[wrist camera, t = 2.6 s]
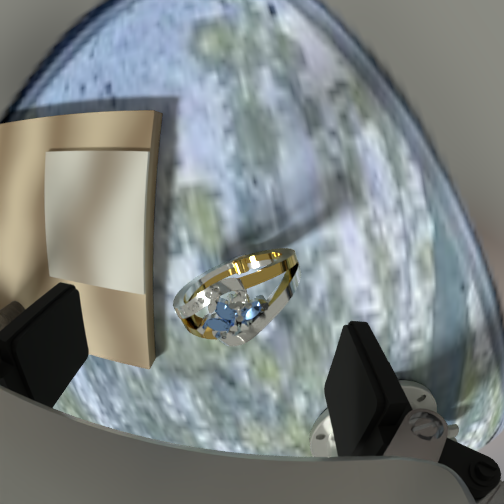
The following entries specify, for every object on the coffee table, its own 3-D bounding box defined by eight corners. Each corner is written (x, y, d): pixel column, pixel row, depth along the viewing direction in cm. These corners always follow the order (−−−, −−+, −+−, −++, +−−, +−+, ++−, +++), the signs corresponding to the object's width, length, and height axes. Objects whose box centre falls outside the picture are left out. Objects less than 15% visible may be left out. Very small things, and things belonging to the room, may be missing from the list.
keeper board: (162, 113, 18) (152, 109, 16) (155, 358, 23) (148, 371, 21) (-2, 126, 18) (-16, 126, 16) (12, 317, 23) (1, 325, 21)
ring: (286, 221, 19) (298, 264, 12) (300, 268, 20) (318, 333, 13) (183, 254, 20) (138, 309, 13) (201, 296, 21) (169, 368, 13)
